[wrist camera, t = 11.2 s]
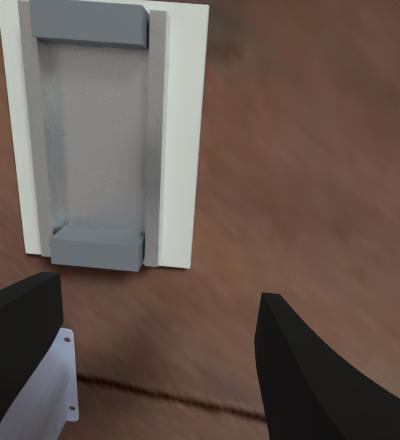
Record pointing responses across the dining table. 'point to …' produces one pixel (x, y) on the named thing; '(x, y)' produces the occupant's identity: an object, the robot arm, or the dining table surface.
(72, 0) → the white flat tray
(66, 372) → the robot arm
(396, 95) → the dining table surface
